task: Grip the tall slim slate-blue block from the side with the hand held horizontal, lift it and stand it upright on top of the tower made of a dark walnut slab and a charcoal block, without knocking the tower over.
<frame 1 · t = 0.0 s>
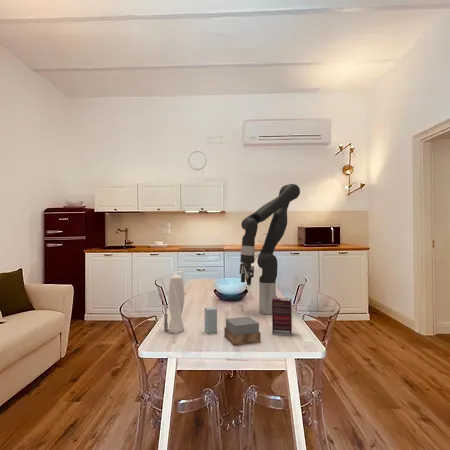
hand: (245, 283, 186), 17 cm above the table, tool pointing down, fingers open, 8 cm apart
skyscraper: (175, 331, 158), on the table
walnut slab: (242, 340, 147), on the table, touching charcoal block
supplement box: (281, 334, 154), on the table
gable box: (256, 289, 258), on the table
slate block: (210, 332, 157), on the table
charcoal block: (242, 330, 147), point 4 cm above the table, touching walnut slab
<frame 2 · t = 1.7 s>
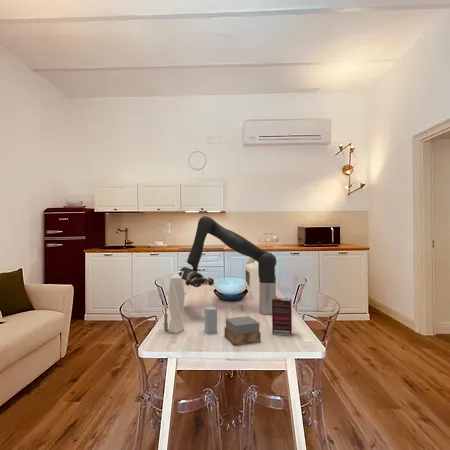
hand: (203, 284, 169), 20 cm above the table, tool horizontal, fingers open, 8 cm apart
nothing on the table moved.
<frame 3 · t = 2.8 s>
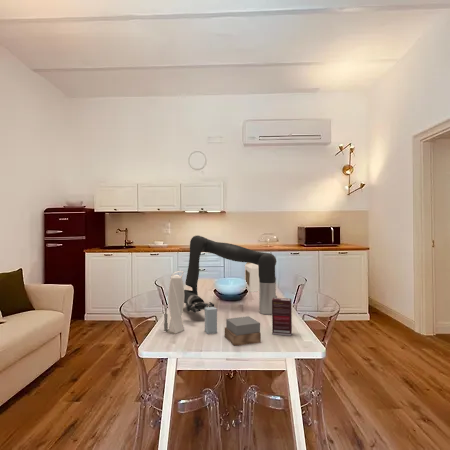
hand: (203, 310, 167), 7 cm above the table, tool horizontal, fingers open, 8 cm apart
nothing on the table moved.
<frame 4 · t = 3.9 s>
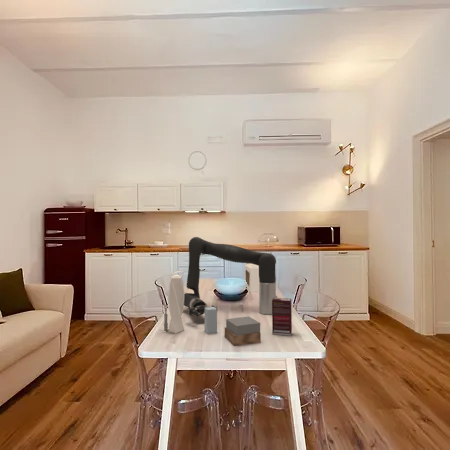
hand: (206, 313, 164), 7 cm above the table, tool horizontal, fingers open, 8 cm apart
nothing on the table moved.
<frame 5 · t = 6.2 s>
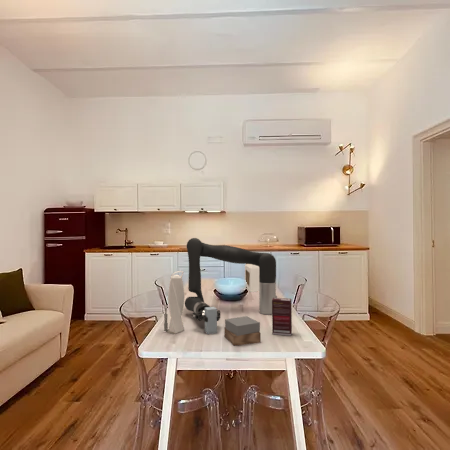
hand: (212, 319, 154), 7 cm above the table, tool horizontal, fingers closed on slate block, 4 cm apart
slate block: (210, 331, 157), on the table, touching gripper
everything else where it was.
when the fingers open (16 cm above the table, at t = 12.6 s): slate block drops 1 cm, resting on charcoal block.
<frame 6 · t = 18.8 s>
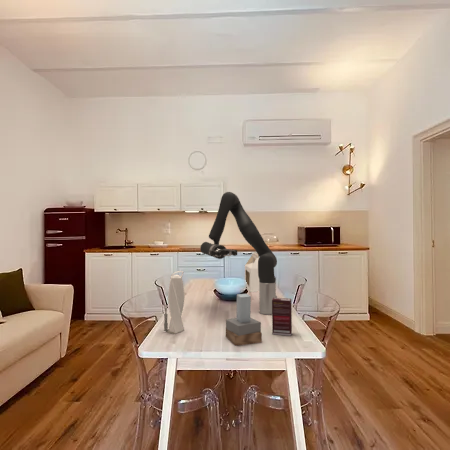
hand: (227, 253, 170), 35 cm above the table, tool horizontal, fingers open, 8 cm apart
walnut slab: (243, 340, 147), on the table
slate block: (243, 320, 147), point 8 cm above the table, touching charcoal block
charcoal block: (243, 330, 147), point 4 cm above the table, touching slate block
everything else where it was.
at the end: slate block 0.1 cm off-centre on the charcoal block, point 4.0 cm above the charcoal block's base; slate block tilted 1°; charcoal block 0.2 cm from the walnut slab (horizontally) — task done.
